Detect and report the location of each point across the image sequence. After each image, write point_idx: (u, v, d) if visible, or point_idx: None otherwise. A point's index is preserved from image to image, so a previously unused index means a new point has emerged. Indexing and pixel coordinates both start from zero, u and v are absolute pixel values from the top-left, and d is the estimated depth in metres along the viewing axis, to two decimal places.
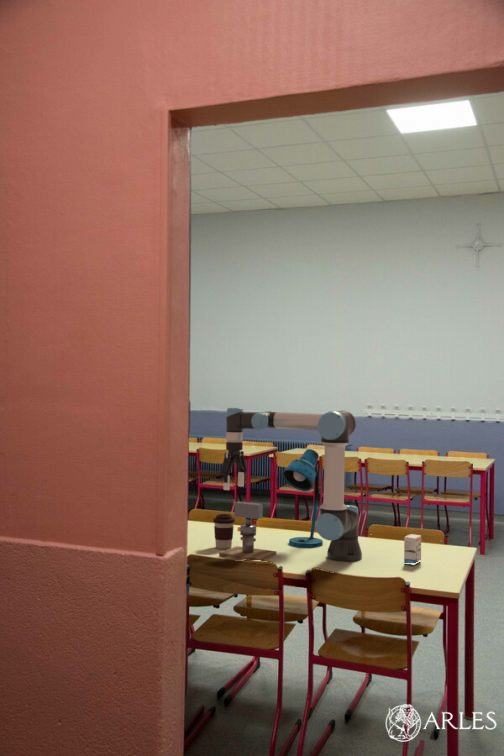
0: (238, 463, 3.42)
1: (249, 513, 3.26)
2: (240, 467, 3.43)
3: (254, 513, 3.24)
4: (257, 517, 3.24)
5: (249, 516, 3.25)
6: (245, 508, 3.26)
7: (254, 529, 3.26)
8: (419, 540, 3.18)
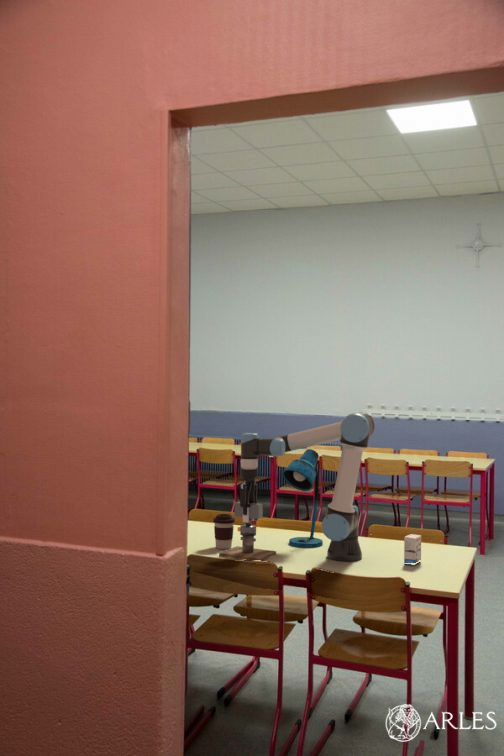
0: (250, 492, 3.29)
1: (249, 513, 3.26)
2: (251, 498, 3.30)
3: (254, 513, 3.24)
4: (257, 517, 3.24)
5: (249, 516, 3.25)
6: None
7: (254, 529, 3.26)
8: (419, 540, 3.18)
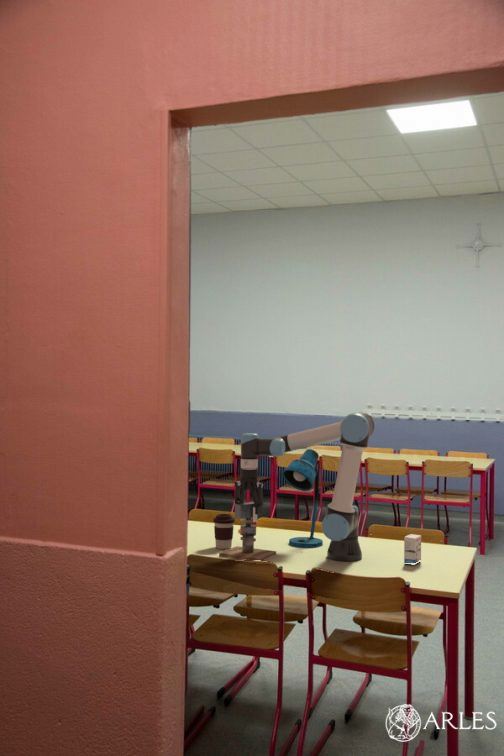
0: (245, 493, 3.29)
1: None
2: (243, 498, 3.30)
3: None
4: (261, 515, 3.30)
5: None
6: (250, 508, 3.26)
7: None
8: (419, 540, 3.18)
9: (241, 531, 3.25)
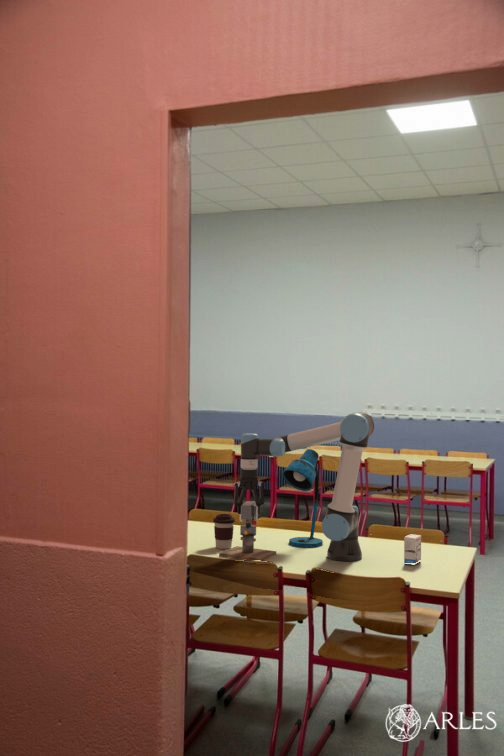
0: None
1: (253, 512, 3.29)
2: None
3: None
4: None
5: (253, 515, 3.29)
6: (252, 507, 3.27)
7: None
8: (419, 540, 3.18)
9: (247, 532, 3.24)
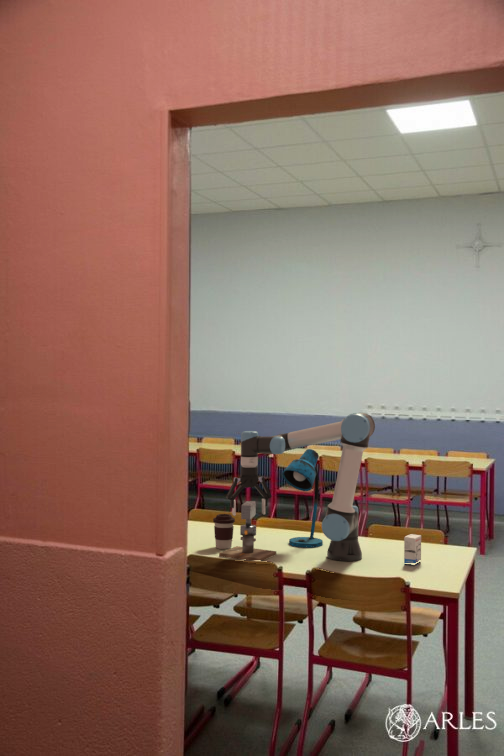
0: None
1: (253, 512, 3.29)
2: None
3: (254, 510, 3.32)
4: (255, 513, 3.33)
5: (253, 515, 3.29)
6: (252, 507, 3.27)
7: None
8: (419, 540, 3.18)
9: (247, 532, 3.24)
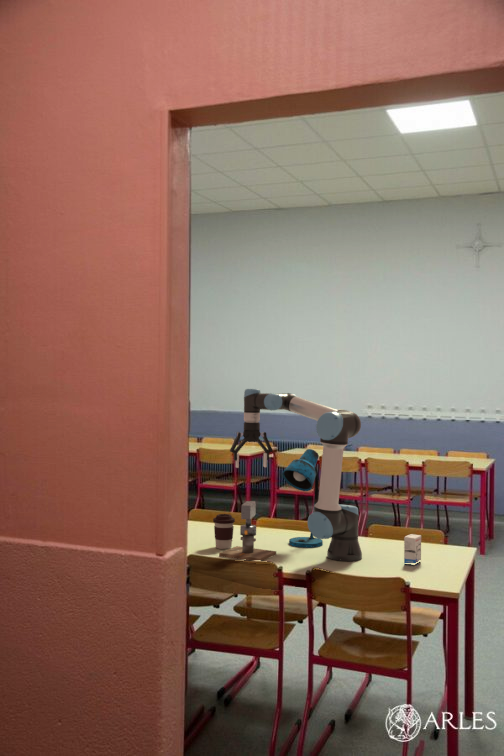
0: None
1: (253, 512, 3.29)
2: None
3: (254, 510, 3.32)
4: (255, 513, 3.33)
5: (253, 515, 3.29)
6: (252, 507, 3.27)
7: None
8: (419, 540, 3.18)
9: (247, 532, 3.24)
